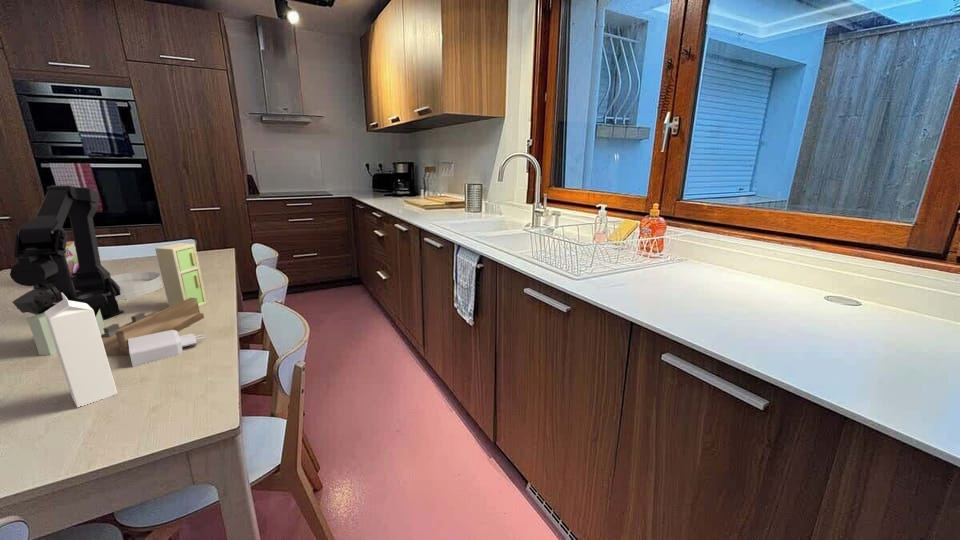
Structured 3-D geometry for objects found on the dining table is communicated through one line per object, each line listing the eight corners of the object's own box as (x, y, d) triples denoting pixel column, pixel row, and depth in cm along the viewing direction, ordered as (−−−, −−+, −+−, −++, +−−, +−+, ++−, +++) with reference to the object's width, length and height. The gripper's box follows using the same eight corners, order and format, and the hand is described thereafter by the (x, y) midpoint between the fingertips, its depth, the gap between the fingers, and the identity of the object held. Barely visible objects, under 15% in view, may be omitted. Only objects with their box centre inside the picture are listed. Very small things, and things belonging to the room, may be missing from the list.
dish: (173, 290, 146) (170, 277, 144) (95, 308, 128) (91, 293, 126) (150, 280, 157) (147, 269, 156) (75, 296, 139) (71, 282, 138)
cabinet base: (72, 353, 97) (64, 329, 95) (154, 316, 120) (149, 297, 118) (133, 355, 96) (126, 331, 94) (204, 317, 119) (199, 298, 117)
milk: (110, 384, 83) (83, 288, 78) (118, 394, 80) (90, 294, 74) (70, 398, 79) (38, 296, 73) (76, 408, 75) (43, 302, 69)
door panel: (39, 355, 96) (27, 318, 94) (96, 331, 110) (86, 298, 107) (51, 355, 96) (38, 318, 93) (106, 331, 110) (96, 298, 107)
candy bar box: (60, 288, 147) (47, 246, 142) (45, 289, 146) (32, 246, 142) (86, 279, 157) (74, 240, 153) (72, 280, 157) (60, 240, 152)
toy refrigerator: (188, 313, 123) (173, 248, 117) (169, 311, 124) (154, 247, 119) (209, 304, 130) (197, 243, 125) (191, 302, 132) (178, 242, 126)
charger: (209, 350, 101) (133, 369, 91) (203, 338, 107) (131, 354, 97) (206, 334, 99) (128, 351, 89) (200, 322, 106) (127, 337, 96)
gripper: (-22, 284, 91) (0, 344, 95) (53, 285, 90) (72, 346, 94) (33, 271, 101) (51, 325, 105) (101, 272, 100) (116, 327, 105)
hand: (71, 331), depth 102 cm, fingers open, 9 cm apart
